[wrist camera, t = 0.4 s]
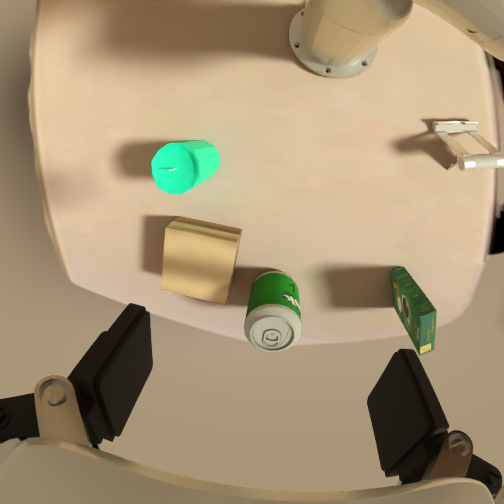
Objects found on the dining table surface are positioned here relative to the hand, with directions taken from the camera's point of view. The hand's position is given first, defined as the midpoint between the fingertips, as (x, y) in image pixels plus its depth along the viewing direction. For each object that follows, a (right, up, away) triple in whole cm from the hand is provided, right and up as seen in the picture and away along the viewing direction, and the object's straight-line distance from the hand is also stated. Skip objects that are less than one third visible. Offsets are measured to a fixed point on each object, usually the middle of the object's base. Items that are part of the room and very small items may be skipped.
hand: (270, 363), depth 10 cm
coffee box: (+24, -2, +35) cm, 43 cm away
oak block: (-8, +3, +33) cm, 34 cm away
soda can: (+3, -2, +37) cm, 37 cm away
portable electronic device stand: (+31, +21, +25) cm, 45 cm away
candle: (-8, +17, +30) cm, 36 cm away
